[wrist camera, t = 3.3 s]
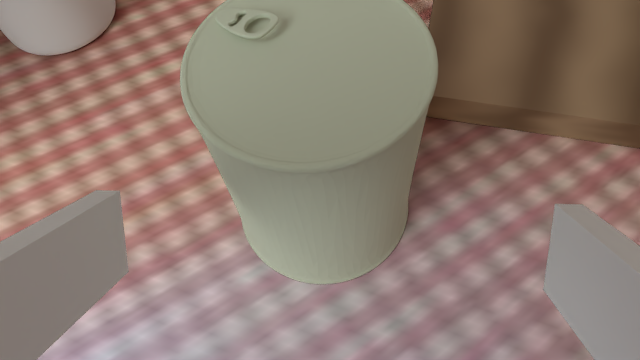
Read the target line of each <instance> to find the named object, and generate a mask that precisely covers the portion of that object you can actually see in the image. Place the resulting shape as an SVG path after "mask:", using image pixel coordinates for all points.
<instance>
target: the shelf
mask: <svg viewBox="0 0 640 360" xmlns="http://www.w3.org/2000/svg"><path fill="white" fill-rule="evenodd" d="M429 31H430V34H431V36H432V38H433V40H434V44H435V47H436V51H437V57H438V78H437V84H436V88H435V91H434V95H433V97H432V100H431V102H430V104H429V108H428V112H427V115H426V117H432V118H439V119H446V120H453V121H459V122H466V123H473V124H479V125H486V126H493V127H500V128H506V129H513V130H520V131H526V132H533V133H540V134H547V135H553V136H560V137H567V138H573V139H580V140H587V141H594V142H600V143H607V144H614V145H620V146H627V147H634V148H640V0H434V1H433V6H432V12H431V18H430V24H429Z"/></svg>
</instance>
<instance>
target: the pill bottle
mask: <svg viewBox="0 0 640 360" xmlns="http://www.w3.org/2000/svg"><path fill="white" fill-rule="evenodd" d="M115 8H116V3H115V0H0V30H1V31H2V32H3V33H4V34H5V36H6V37H7V38H8V39H9V40H10V41H11V42H12V43H13V44H14V45H16V46H17V47H18V48H20V49H22V50H24V51H26V52H28V53H31V54H36V55H58V54H63V53H67V52H70V51H73V50H76V49H78V48H81V47H83V46H85V45H87V44H88V43H90V42H92V41H93V40H94V39H96V38H97V37H98V36H100V35H101V34H102V33H103V32H104V31H105V30H106V28H107V27H108V26H109V24H110V23H111V21H112V19H113V17H114V14H115Z"/></svg>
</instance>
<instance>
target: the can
mask: <svg viewBox="0 0 640 360" xmlns="http://www.w3.org/2000/svg"><path fill="white" fill-rule="evenodd" d="M437 78H438V57H437V51H436V47H435V44H434V40H433V38H432V36H431V34H430V31H429V29H428V27H427V26H426V24H425V23H424V22H423V20H422V19H421V17H420V16H419V15H418V14H417V13H416V12H415V11H414V10H413V9H412V8H411V7H410V6H409V5H408V4H407V3H406V2H404V1H403V0H227V1H225V2H224V3H222V4H221V5H220V6H218V7H217V8H216V9H215V10H214V11H213V12H212V13H210V14H209V15H208V17H207V18H206V19H205V20H204V21H203V22H202V23H201V24H200V26H199V27H198V29H197V30H196V31H195V33H194V34H193V36H192V37H191V39H190V41H189V43H188V45H187V48H186V50H185V53H184V56H183V60H182V64H181V71H180V87H181V94H182V98H183V102H184V105H185V108H186V110H187V112H188V114H189V117H190V118H191V120H192V122H193V123H194V125H195V126H196V127H197V129H198V130H199V132H200V134H201V135H202V137H203V139H204V141H205V143H206V145H207V147H208V149H209V151H210V153H211V155H212V157H213V159H214V161H215V163H216V165H217V168H218V170H219V172H220V174H221V176H222V178H223V180H224V182H225V184H226V186H227V189H228V191H229V193H230V195H231V197H232V199H233V201H234V203H235V206H236V208H237V210H238V212H239V215H240V217H241V220H242V225H243V229H244V232H245V235H246V238H247V240H248V242H249V244H250V245H251V247H252V249H253V250H254V252H255V253H256V254H257V255H258V256H259V258H260V259H261V260H262V261H263V262H264V263H266V264H267V265H268V266H269V267H271V268H272V269H273V270H275V271H276V272H278V273H280V274H282V275H284V276H286V277H288V278H291V279H294V280H297V281H300V282H305V283H312V284H334V283H341V282H345V281H349V280H352V279H355V278H357V277H360V276H362V275H364V274H366V273H367V272H369V271H371V270H372V269H374V268H375V267H377V266H378V265H379V264H381V263H382V262H383V261H384V260H385V259H386V258H387V257H388V256H389V255H390V254H391V252H392V251H393V250H394V248H395V247H396V246H397V244H398V242H399V241H400V239H401V237H402V234H403V232H404V229H405V226H406V222H407V217H408V197H409V192H410V187H411V182H412V176H413V172H414V168H415V163H416V159H417V154H418V150H419V146H420V141H421V137H422V132H423V128H424V124H425V119H426V115H427V112H428V108H429V104H430V102H431V100H432V97H433V95H434V91H435V88H436V84H437Z"/></svg>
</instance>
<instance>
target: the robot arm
mask: <svg viewBox="0 0 640 360" xmlns="http://www.w3.org/2000/svg"><path fill="white" fill-rule="evenodd" d="M127 273H128V263H127V253H126V244H125V235H124V226H123V217H122V207H121V198H120V191H104V190H96V191H94V192H92V193H90V194H88V195H87V196H85V197H83V198H81V199H79V200H77V201H75V202H73V203H72V204H70V205H68V206H66V207H64V208H62V209H60V210H59V211H57V212H55V213H53V214H51V215H49V216H47V217H46V218H44V219H42V220H40V221H38V222H36V223H34V224H32V225H31V226H29V227H27V228H25V229H23V230H21V231H19V232H18V233H16V234H14V235H12V236H10V237H8V238H6V239H5V240H3V241H1V242H0V360H37V359H38V358H39V357H40V356H41V355H42V354H43V353H44V352H45V351H46V350H47V349H48V348H49V347H50V346H51V345H52V344H53V343H54V342H55V341H56V340H58V339H59V338H60V337H61V336H62V335H63V334H64V333H65V332H66V331H67V330H68V329H69V328H70V327H71V326H72V325H73V324H74V323H75V322H76V321H77V320H78V319H80V318H81V317H82V316H83V315H84V314H85V313H86V312H87V311H88V310H89V309H90V308H91V307H92V306H93V305H94V304H95V303H96V302H97V301H98V300H99V299H100V298H102V297H103V296H104V295H105V294H106V293H107V292H108V291H109V290H110V289H111V288H112V287H113V286H114V285H115V284H116V283H117V282H118V281H119V280H120V279H121V278H122V277H124V276H125V275H126V274H127ZM543 290H544V291H545V293H546V294H547V296H548V297H549V298H550V300H551V301H552V302H553V304H554V305H555V306H556V308H557V309H558V311H559V312H560V313H561V315H562V316H563V317H564V319H565V320H566V321H567V323H568V324H569V326H570V327H571V328H572V330H573V331H574V332H575V334H576V335H577V336H578V338H579V339H580V341H581V342H582V343H583V345H584V346H585V347H586V349H587V350H588V351H589V353H590V354H591V356H592V357H593V358H594V360H640V246H639V245H637V244H636V243H635V242H633V241H632V240H631V239H629V238H628V237H626V236H625V235H624V234H622V233H621V232H620V231H618V230H617V229H615V228H614V227H613V226H611V225H610V224H609V223H607V222H606V221H605V220H603V219H602V218H600V217H599V216H598V215H596V214H595V213H594V212H592V211H591V210H589V209H588V208H587V207H585V206H584V205H583V204H555V207H554V215H553V222H552V230H551V237H550V244H549V252H548V259H547V266H546V274H545V281H544V288H543Z"/></svg>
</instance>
